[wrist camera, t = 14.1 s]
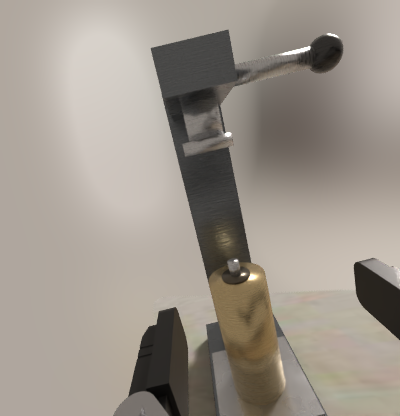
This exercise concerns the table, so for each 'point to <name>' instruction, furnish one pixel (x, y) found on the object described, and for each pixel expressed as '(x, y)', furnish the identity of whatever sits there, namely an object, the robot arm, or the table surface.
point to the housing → (248, 331)
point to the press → (228, 182)
